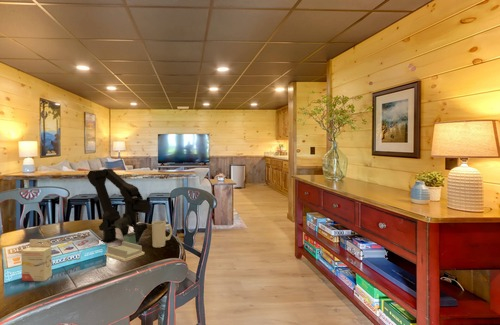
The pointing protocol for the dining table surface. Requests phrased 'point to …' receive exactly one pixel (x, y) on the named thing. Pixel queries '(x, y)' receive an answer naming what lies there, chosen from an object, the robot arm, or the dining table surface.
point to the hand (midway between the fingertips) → (131, 241)
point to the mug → (160, 233)
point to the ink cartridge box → (37, 261)
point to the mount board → (124, 251)
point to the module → (130, 238)
